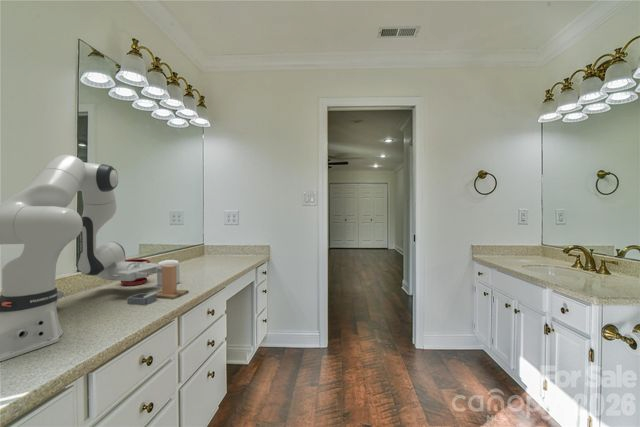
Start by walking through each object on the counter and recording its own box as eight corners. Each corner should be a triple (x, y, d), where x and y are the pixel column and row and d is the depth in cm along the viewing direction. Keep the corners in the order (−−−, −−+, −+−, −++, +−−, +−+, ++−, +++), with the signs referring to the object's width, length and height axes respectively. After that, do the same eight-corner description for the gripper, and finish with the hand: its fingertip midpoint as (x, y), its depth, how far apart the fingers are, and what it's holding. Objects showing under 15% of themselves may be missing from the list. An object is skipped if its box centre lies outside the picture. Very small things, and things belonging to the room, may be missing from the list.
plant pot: (127, 288, 144) (127, 263, 143) (115, 284, 151) (114, 261, 151) (154, 282, 154) (154, 259, 154) (142, 279, 162) (141, 257, 162)
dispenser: (145, 305, 117) (145, 296, 117) (126, 303, 119) (126, 295, 119) (157, 300, 124) (157, 291, 124) (139, 299, 126) (139, 290, 126)
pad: (173, 299, 125) (173, 296, 125) (149, 297, 128) (149, 295, 128) (188, 292, 135) (188, 290, 135) (165, 291, 138) (165, 289, 138)
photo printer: (157, 286, 146) (157, 261, 146) (156, 284, 150) (156, 260, 149) (180, 283, 152) (180, 259, 152) (178, 281, 156) (178, 258, 156)
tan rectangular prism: (172, 294, 130) (171, 266, 129) (162, 293, 131) (161, 266, 130) (176, 292, 133) (176, 265, 132) (166, 291, 133) (166, 265, 133)
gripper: (109, 269, 126) (137, 270, 123) (146, 260, 146) (171, 261, 143) (109, 283, 126) (137, 285, 123) (146, 273, 146) (171, 274, 143)
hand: (155, 272), depth 133 cm, fingers open, 8 cm apart
